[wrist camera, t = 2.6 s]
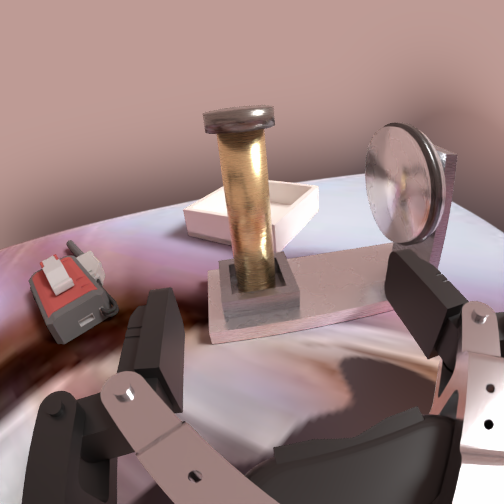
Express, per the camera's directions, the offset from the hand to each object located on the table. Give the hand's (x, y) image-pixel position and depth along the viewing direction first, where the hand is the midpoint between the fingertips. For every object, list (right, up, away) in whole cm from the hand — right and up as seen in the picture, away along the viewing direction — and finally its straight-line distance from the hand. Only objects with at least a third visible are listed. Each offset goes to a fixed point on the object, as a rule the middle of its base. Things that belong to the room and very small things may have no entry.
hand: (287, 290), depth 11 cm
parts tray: (-1, +5, +28) cm, 28 cm away
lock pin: (-1, -2, +14) cm, 14 cm away
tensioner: (+5, -2, +15) cm, 16 cm away
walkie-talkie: (-21, -3, +19) cm, 29 cm away
